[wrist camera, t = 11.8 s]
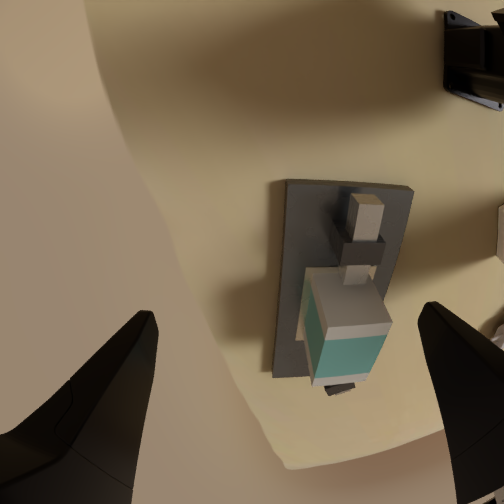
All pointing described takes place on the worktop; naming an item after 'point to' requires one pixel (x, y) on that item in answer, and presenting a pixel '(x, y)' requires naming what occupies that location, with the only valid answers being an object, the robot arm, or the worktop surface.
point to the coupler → (343, 329)
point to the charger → (499, 337)
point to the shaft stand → (333, 253)
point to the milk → (500, 234)
